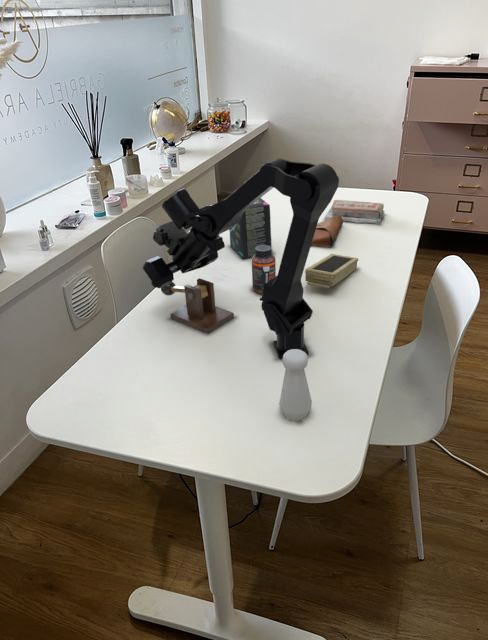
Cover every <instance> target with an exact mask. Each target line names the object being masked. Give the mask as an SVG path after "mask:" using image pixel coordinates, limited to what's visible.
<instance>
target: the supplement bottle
mask: <svg viewBox="0 0 488 640" xmlns="http://www.w3.org/2000/svg"><path fill="white" fill-rule="evenodd" d="M255 253H256V254H255V255H253V257H251V278H252V279H251V281H252V289H253V291H254V292H255V293H258V294H262V295H263V287H264V284H265V283H267V282H268V281H270V280H271V279H273V278H274V277H276V276H277V273H276V271H277V266H276V265H277V264H276V256H275V255H274V254H273V250H272V251H271V247H270V246H268V245H260V246H257V247H256V248H255Z"/></svg>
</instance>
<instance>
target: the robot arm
mask: <svg viewBox="0 0 488 640" xmlns="http://www.w3.org/2000/svg"><path fill="white" fill-rule="evenodd" d="M339 184H340V177H339V176H338V174H337V172H336V171H335V169H334V167H332V166H331V165H330V164H327V163H318V164H314V163H311V162H303V161H302V162H300V161H291V160H289V159H288V160H287V159H284V158H280V157H279V158H275V159H273V160H270V161H267V162H265V163H264V164H262V165H261V167H260V169H258V170H257V171H256V172H255V173H254V174H253V175H252V176H250V178H248V179H247V180H246V181H244V182H243V183H242V184H241V185H240V186H238V187H237V189H235V190H234V191H233V192H231V194H229V195H228V196H227V197H226V198H224V199H222V200H220V201H218V202H216V203H214V204H207V205H205V206H202V207H201V208H199V206H198V205H197V204H196V202H195V201H194V199H193V198H192V196H191V195H190V193H189V192H188V191H187V189H186V188H185V187H184V188H181V189H178V190H177V191H176V193H174V194H173V195H171V196H170V197H168V199H166V200H164V201H163V203H162V205H161V209H162V210H164V212H165V213H166V214H167V216H168V217H169V218H170V220H171V221H168V222H166V223H164V224H161V225H159V226H158V227H157V228H155V231H153V236H152V239H153V242H154V243H156V244H157V245H158V246H160V247H162V246H165V247H166V248H167V250H166V252H167V254H168V255H169V256H171V259H172V261H170V262H168V263H166V261H165V260H164V258H163V257H161V256H158V255H157V256H155V257H153V258H150V259H148V260H146V261H145V262H144V263H143V265H142V270H143V271H144V273H145V274H146V275H147V277H148V279H150V281H151V283H150V284H151V285H152V287H153V288H157V289H161V287H164V286H166V285H168V284H170V282H174V279H175V278H174V277H175V276H174V274H175V273H178V272H179V271H180V272H181V274H187V273H189V272H192V271H195V270H196V271H197V270H199V269H201V268H204V267H207V266H208V265H211V264H213V263H214V262H216V260H218V258H219V253H218V252H219V251H221V250H222V249H224V248H226V244H225V241H224V240H223V237H222V236H220V235H221V234H223V233H225V232H228V231H229V229H231V228H233V227H234V226H235V225H236V224H237V223H238V221H239V220H240V219H241V217H242V214H243V213H244V211H245V210H246V209H247V208H248V207H250V206H251V205H252V204H253V203H255V202H256V201H257V200H258V199H260V198H261V199H262V198H263V196H265V195H266V194H267V193H269V192H270V191H272V189H275V190H277V192H278V193H280V194H281V195H283V196H286V197H289V203H290V206H291V209H292V214H293V215H292V218H291V222H290V226H289V230H288V234H287V238H286V241H285V245H284V249H283V252H282V256H281V260H280V264H279V268H278V272H277V274H276V277H274V278H273V279H271V280H270V281H268V282H267V283H265V284H264V287H263V294H262V295H261V296H260V298H259V301H260V302H261V305H260V306H261V311H262V312H263V314H264V317H265V320H266V322H267V326H268V328H269V330H270V331H272V332H274V333H275V335H276V340H273V341H272V345H273V348H274V350H275V353H276V356H277V358H278V359H279V360H281V359H282V360H283V355H284V353H286V352H287V351H288V350H291V349H299V350H302V351H304V352H305V353H306V354H307V356H309V353H310V352H309V349H308V347H307V345H306V344H305V322H307V321H308V320H310V319H311V318H312V316H313V313H314V311H313V308H311V307H310V304H308V303H307V301H306V300H305V299H304V287H303V283H302V277H303V273H304V272H305V267H306V265H307V264H306V263H307V260H308V257H309V253H310V250H311V247H312V245H311V244H312V240H313V237H314V234H315V230H316V227H317V224H318V223H319V220H320V218H321V216H322V214H323V213H324V212H325V211H326V209H327V208H328V206H329V205H330V203H331V202H332V200H333V198H334V196H335V195H336V192H337V190H338V188H339V186H340V185H339ZM188 229H190V230H189V231H188V232H187V231H186V230H188Z"/></svg>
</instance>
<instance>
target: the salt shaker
mask: <svg viewBox="0 0 488 640" xmlns="http://www.w3.org/2000/svg"><path fill="white" fill-rule="evenodd" d="M308 356H309V355H307V354H306V353H305V352H304V351H302V350H299V349H291V350H288V351H287V352H286V353H284V355H283V358H282V360H281V361H282V366H283V367H284V368H285V371H284V375H283V381H282V385H281V386H282V387H281V392H280V398H279V402H278V405H279V408H280V410H281V411H282V414H283V415H284V416H285V418H287V420H288V421H295V422H296V421H297V422H300V421H301V420H304V418H306V417H307V416H308V414H309V413H310V411H311V409H312V405H313V401H312V396H311V392H310V388H309V383H308V380H307V376H306V370H305V369H306V368H307V366H308V363H309V357H308Z"/></svg>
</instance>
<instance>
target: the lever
mask: <svg viewBox="0 0 488 640" xmlns="http://www.w3.org/2000/svg"><path fill="white" fill-rule="evenodd" d="M193 287H195V288H198V289H201V294H202V298H204V297H206V296H208V292H207V288H206V285H197V284H196V285H194V286H193ZM160 291H161V292H162V294H163V295H164V296H167V297H169V296H173V295H174V294H175V293H183V294H185V289H184V286H179V285H176V283H175V282H174V281H172V282H170V284H168V285H166V286H164V287H161V288H160Z"/></svg>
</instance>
